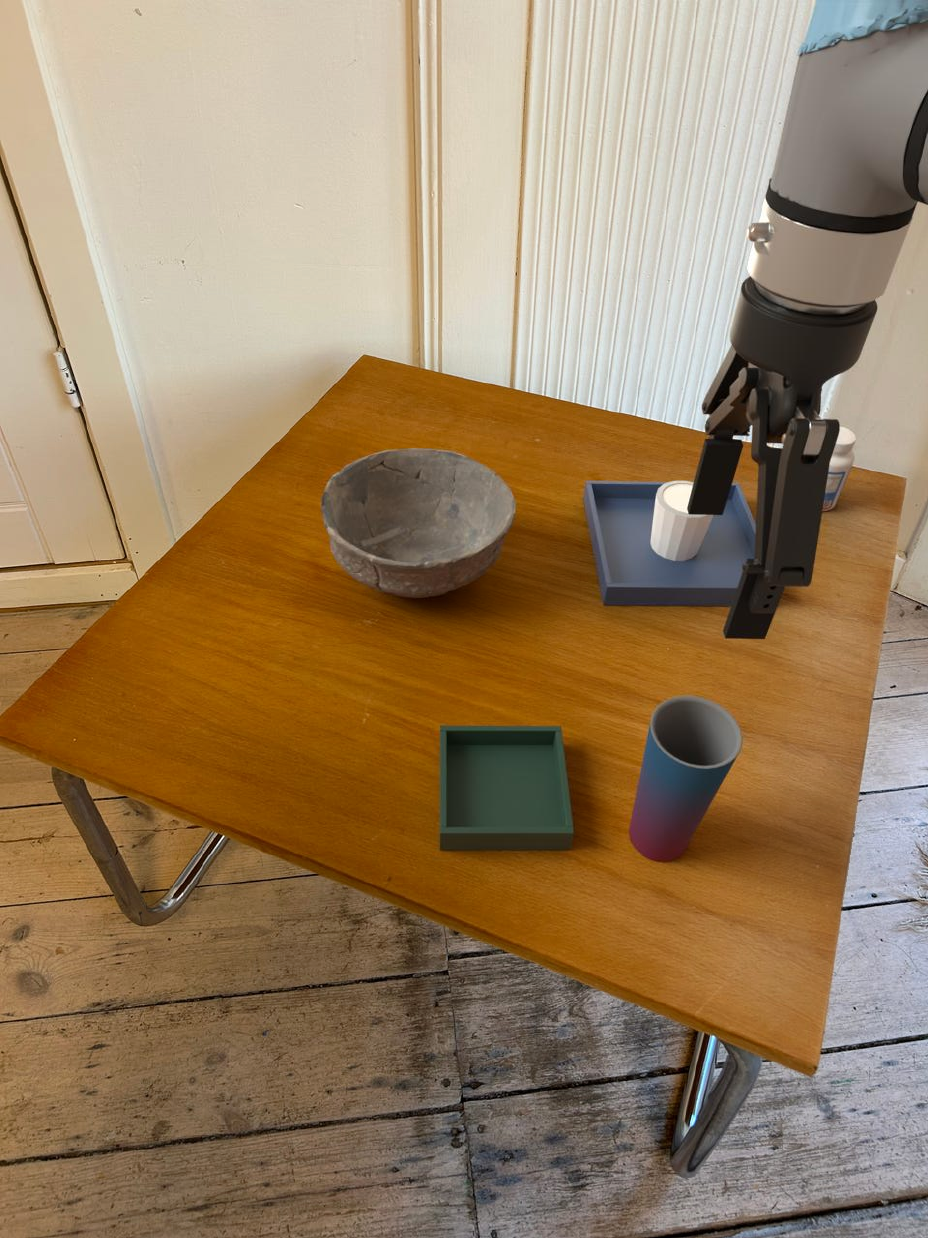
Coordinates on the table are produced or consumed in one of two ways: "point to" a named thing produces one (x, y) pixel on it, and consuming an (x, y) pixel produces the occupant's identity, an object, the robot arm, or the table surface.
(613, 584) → the far tray
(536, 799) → the near tray
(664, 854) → the cup
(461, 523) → the bowl
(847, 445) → the pill bottle
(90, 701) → the table surface
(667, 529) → the white faceted candle
